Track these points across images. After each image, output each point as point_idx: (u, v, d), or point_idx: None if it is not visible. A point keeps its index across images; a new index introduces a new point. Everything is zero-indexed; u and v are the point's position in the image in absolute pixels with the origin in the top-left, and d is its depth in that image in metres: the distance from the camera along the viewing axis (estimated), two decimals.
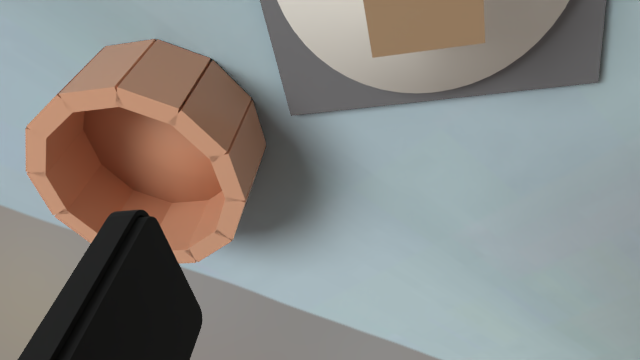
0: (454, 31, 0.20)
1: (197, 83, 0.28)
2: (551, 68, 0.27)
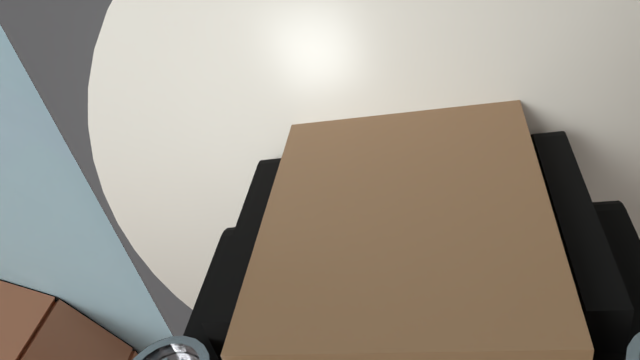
0: None
1: None
2: None
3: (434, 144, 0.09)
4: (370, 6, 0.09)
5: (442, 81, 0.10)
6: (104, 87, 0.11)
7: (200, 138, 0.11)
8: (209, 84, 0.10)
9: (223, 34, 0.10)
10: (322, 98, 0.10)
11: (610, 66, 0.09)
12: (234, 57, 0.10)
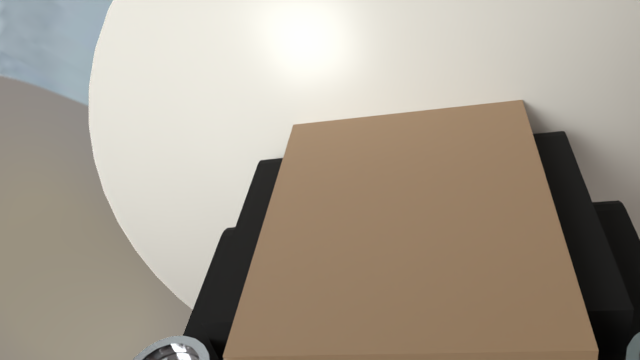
0: None
1: None
2: None
3: (436, 144, 0.09)
4: (372, 5, 0.09)
5: (444, 81, 0.10)
6: (105, 87, 0.10)
7: (201, 138, 0.11)
8: (210, 85, 0.10)
9: (225, 34, 0.10)
10: (324, 98, 0.10)
11: (613, 66, 0.09)
12: (236, 57, 0.10)
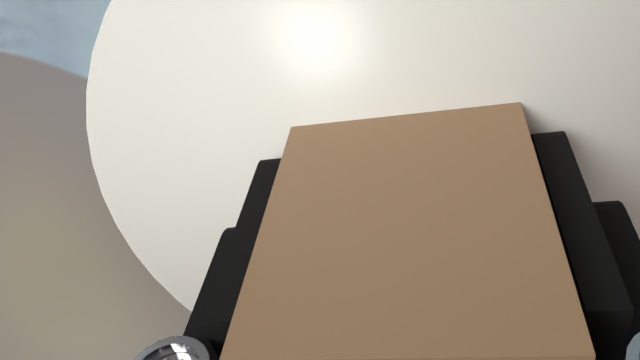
0: None
1: None
2: None
3: (434, 147, 0.09)
4: (370, 8, 0.09)
5: (442, 83, 0.10)
6: (102, 89, 0.10)
7: (199, 140, 0.11)
8: (208, 87, 0.10)
9: (223, 35, 0.10)
10: (322, 100, 0.10)
11: (611, 68, 0.09)
12: (233, 60, 0.10)
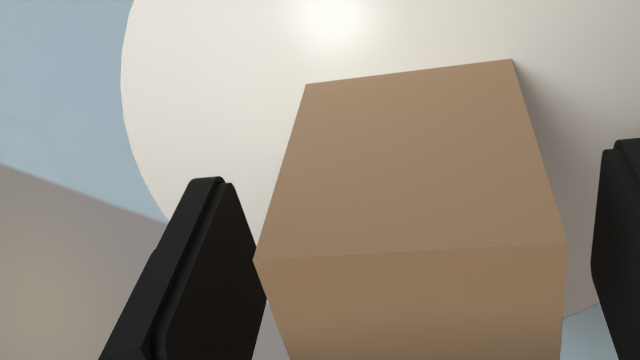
0: None
1: None
2: None
3: (434, 96, 0.10)
4: None
5: (441, 42, 0.11)
6: (137, 50, 0.12)
7: (222, 97, 0.12)
8: (232, 47, 0.11)
9: None
10: (334, 58, 0.11)
11: (591, 26, 0.10)
12: (255, 21, 0.11)
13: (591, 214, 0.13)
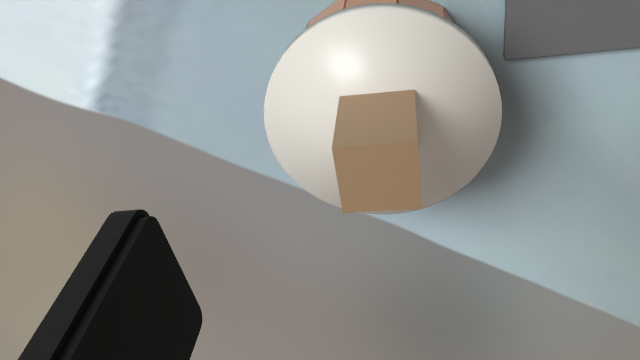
0: (400, 200, 0.28)
1: None
2: None
3: (386, 102, 0.29)
4: (368, 59, 0.29)
5: (390, 82, 0.30)
6: (275, 81, 0.31)
7: (306, 100, 0.31)
8: (312, 82, 0.30)
9: (320, 65, 0.30)
10: (350, 87, 0.30)
11: (441, 79, 0.30)
12: (323, 73, 0.30)
13: (449, 150, 0.32)
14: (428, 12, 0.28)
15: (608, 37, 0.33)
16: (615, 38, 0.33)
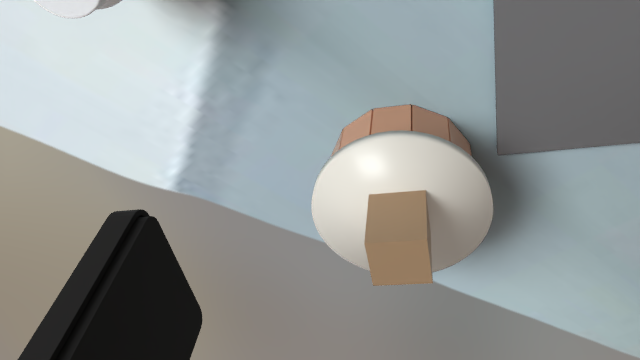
0: (416, 277, 0.38)
1: (448, 136, 0.41)
2: None
3: (404, 201, 0.39)
4: (389, 170, 0.39)
5: (406, 185, 0.40)
6: (320, 184, 0.41)
7: (343, 197, 0.41)
8: (348, 185, 0.40)
9: (354, 174, 0.40)
10: (377, 188, 0.40)
11: (445, 183, 0.39)
12: (356, 179, 0.40)
13: (454, 231, 0.42)
14: (434, 137, 0.38)
15: (578, 139, 0.42)
16: (584, 139, 0.42)
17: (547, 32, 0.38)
